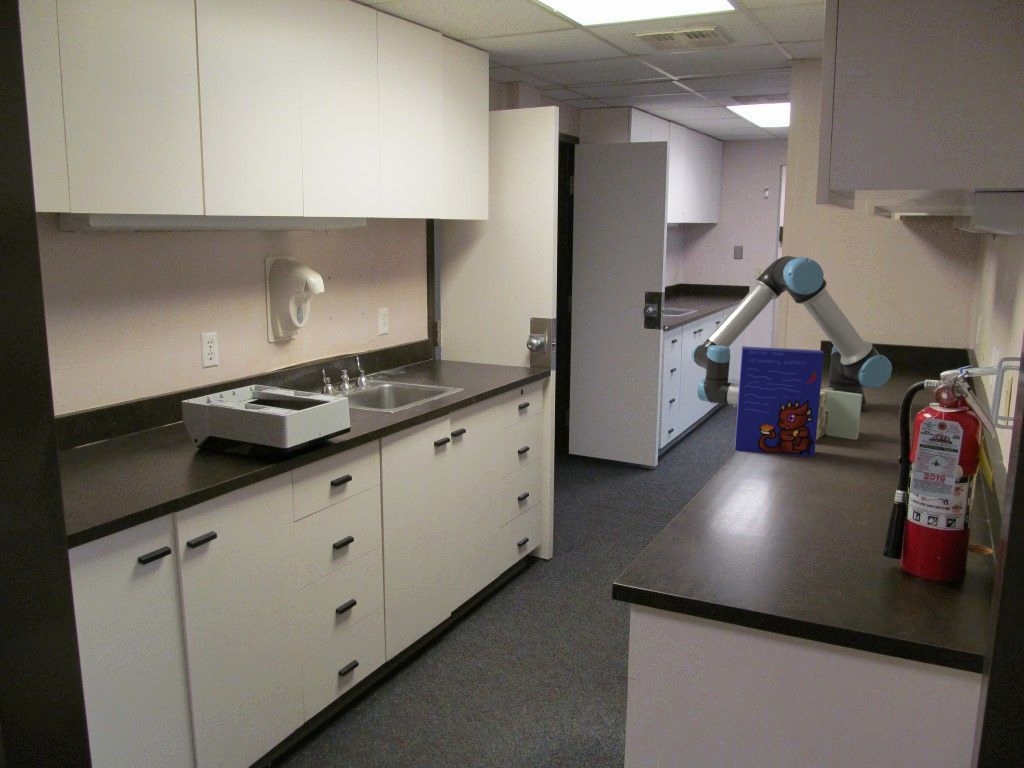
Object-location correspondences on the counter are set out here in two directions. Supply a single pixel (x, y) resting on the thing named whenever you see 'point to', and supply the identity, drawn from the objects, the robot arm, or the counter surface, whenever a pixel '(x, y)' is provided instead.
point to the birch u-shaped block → (822, 414)
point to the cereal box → (778, 400)
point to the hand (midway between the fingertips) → (808, 405)
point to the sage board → (843, 414)
